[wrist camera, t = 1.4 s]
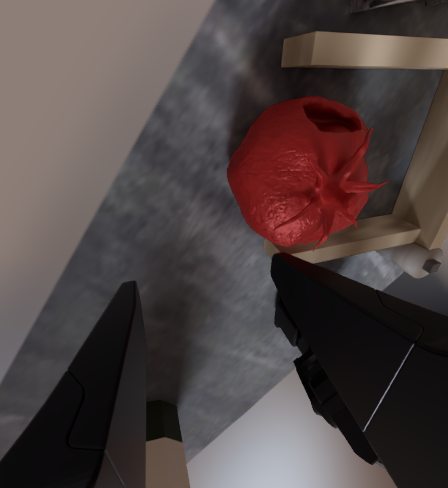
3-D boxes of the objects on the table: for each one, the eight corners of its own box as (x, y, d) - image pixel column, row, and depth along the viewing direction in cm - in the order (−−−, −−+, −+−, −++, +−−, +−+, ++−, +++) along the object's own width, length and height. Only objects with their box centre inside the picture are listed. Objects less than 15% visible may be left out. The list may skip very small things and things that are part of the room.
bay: (475, 48, 22) (572, 39, 17) (394, 249, 32) (440, 278, 27) (283, 39, 17) (345, 24, 12) (260, 278, 27) (289, 319, 23)
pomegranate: (266, 237, 25) (326, 307, 18) (190, 167, 19) (233, 227, 12) (348, 159, 23) (453, 200, 16) (291, 55, 18) (415, 46, 10)
